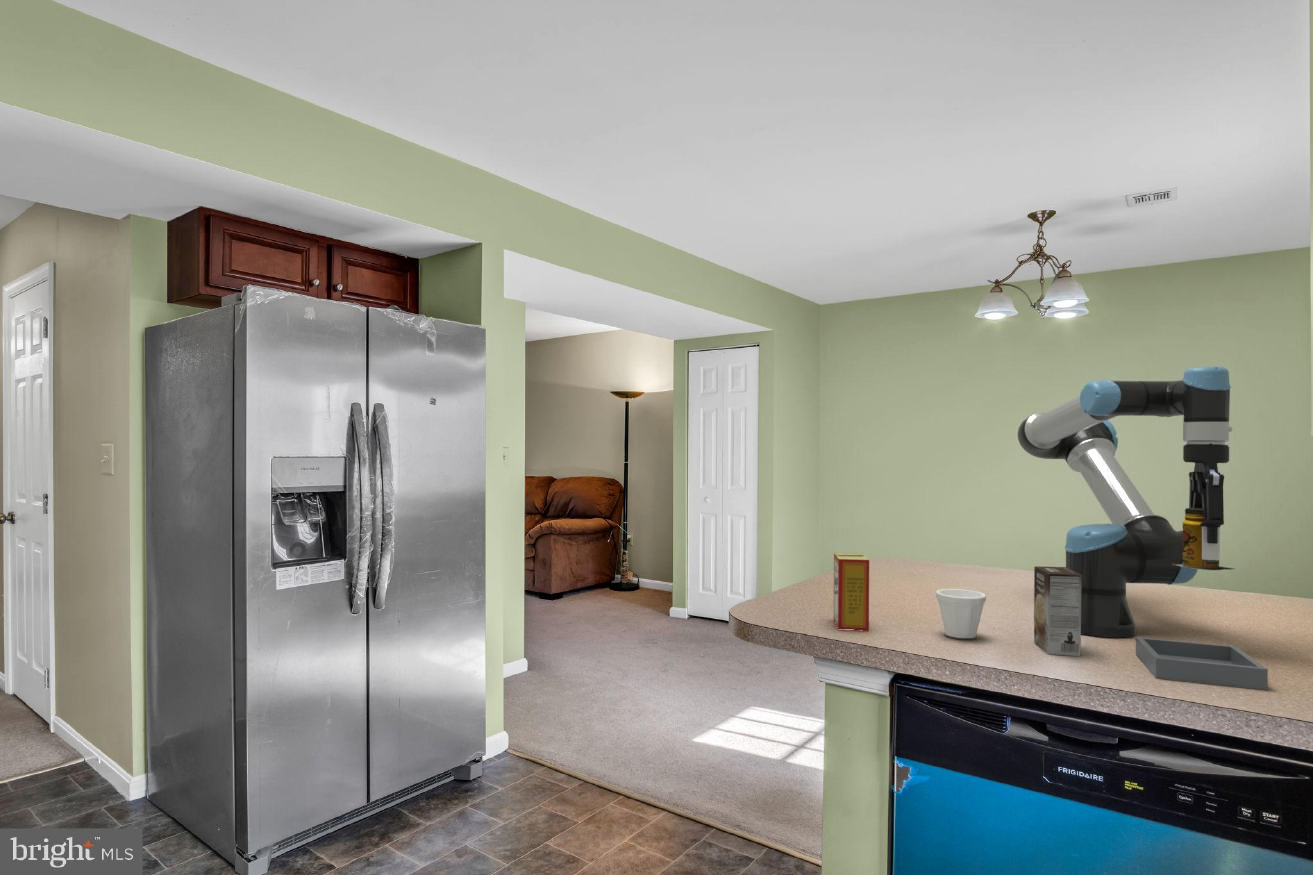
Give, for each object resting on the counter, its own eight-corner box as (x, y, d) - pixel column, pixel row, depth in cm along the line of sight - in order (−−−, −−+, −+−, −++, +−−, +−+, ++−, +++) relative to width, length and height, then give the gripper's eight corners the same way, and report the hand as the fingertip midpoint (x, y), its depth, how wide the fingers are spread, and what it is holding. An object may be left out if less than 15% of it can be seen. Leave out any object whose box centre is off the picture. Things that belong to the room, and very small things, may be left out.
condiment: (1171, 565, 154) (1171, 507, 154) (1207, 564, 155) (1207, 507, 155) (1202, 571, 146) (1203, 510, 146) (1239, 570, 148) (1240, 510, 148)
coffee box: (1032, 642, 155) (1032, 565, 155) (1065, 644, 153) (1065, 566, 154) (1047, 654, 145) (1047, 572, 146) (1082, 656, 144) (1083, 574, 145)
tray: (1155, 678, 131) (1155, 658, 131) (1135, 654, 146) (1135, 636, 146) (1267, 690, 125) (1267, 669, 125) (1234, 664, 140) (1235, 645, 140)
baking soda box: (868, 631, 163) (869, 558, 163) (838, 630, 163) (838, 557, 164) (862, 621, 172) (862, 552, 172) (833, 620, 173) (833, 551, 173)
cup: (975, 645, 152) (976, 599, 152) (927, 636, 159) (928, 593, 159) (992, 636, 159) (992, 593, 159) (946, 628, 166) (946, 586, 166)
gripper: (1245, 443, 140) (1244, 565, 140) (1213, 443, 158) (1212, 552, 158) (1197, 443, 143) (1197, 562, 143) (1171, 443, 161) (1170, 549, 161)
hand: (1205, 557), depth 150 cm, fingers closed on condiment, 6 cm apart
